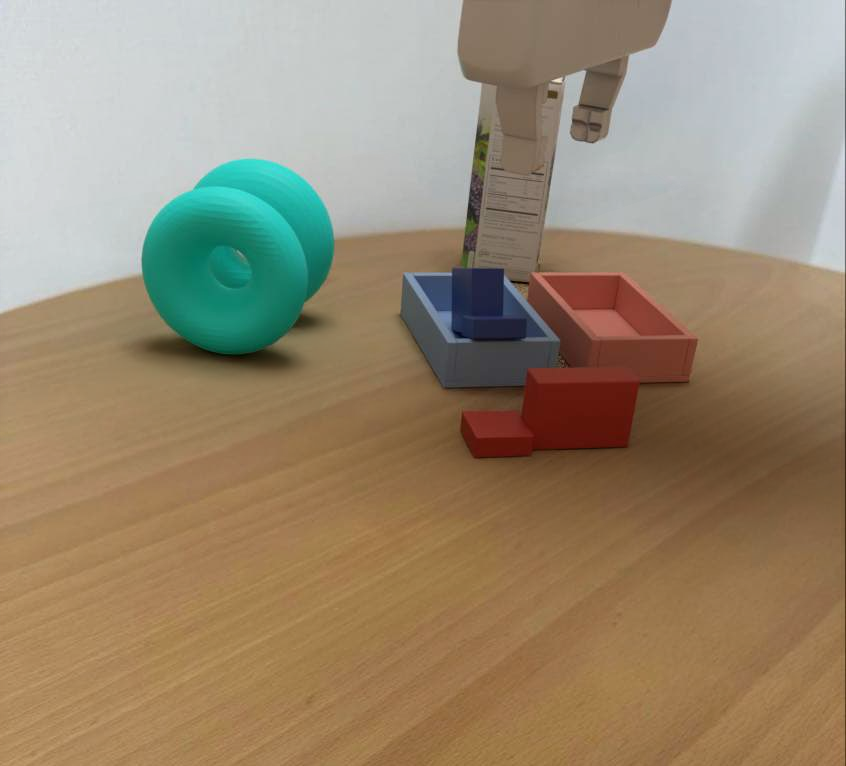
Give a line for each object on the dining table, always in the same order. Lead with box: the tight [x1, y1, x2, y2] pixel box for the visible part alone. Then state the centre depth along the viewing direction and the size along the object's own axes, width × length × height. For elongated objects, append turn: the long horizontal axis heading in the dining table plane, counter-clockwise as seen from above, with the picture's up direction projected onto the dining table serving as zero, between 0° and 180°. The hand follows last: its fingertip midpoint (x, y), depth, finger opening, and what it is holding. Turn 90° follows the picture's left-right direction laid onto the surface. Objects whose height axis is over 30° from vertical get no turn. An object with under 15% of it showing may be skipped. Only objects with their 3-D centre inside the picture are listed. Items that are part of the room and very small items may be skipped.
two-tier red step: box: [459, 367, 641, 458], centre depth 63 cm, size 9×3×4 cm, turn 102°
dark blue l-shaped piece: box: [451, 267, 527, 339], centre depth 71 cm, size 9×3×4 cm, turn 10°
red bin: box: [526, 271, 699, 384], centre depth 76 cm, size 7×12×3 cm, turn 13°
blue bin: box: [399, 272, 560, 389], centre depth 74 cm, size 7×12×3 cm, turn 13°
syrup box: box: [460, 76, 567, 283], centre depth 85 cm, size 6×6×14 cm
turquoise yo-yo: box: [141, 158, 335, 356], centre depth 71 cm, size 10×10×10 cm
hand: (556, 155), depth 62 cm, fingers open, 8 cm apart
